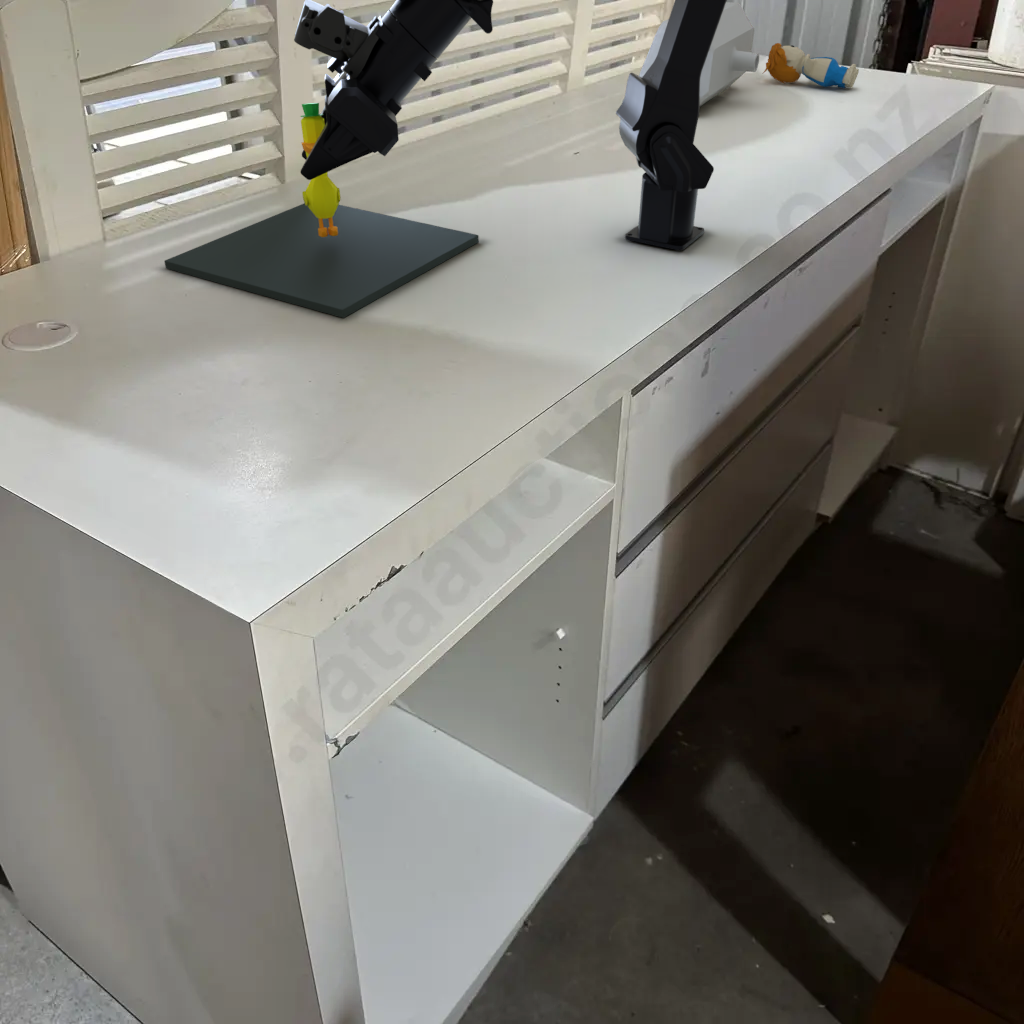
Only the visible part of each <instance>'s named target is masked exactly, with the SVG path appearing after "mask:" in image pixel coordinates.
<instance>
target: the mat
mask: <svg viewBox="0 0 1024 1024" xmlns="http://www.w3.org/2000/svg"><path fill="white" fill-rule="evenodd" d="M332 219H333V226H336V227H337V229H338V235H337V236H331V235H329V233H328V236H327V237H320V236H319V234H318V228H320V227H319V219H318V218H317V217H316V216H315V215H314V214H313V212H312V211H311V210H310V209H309V207H308V204H307V206H306V205H305V203H304V202H303V203H301V204H299V205H297V206H295V207H291V208H289V209H286V210H284V211H282V212H279V213H276V214H274V215H273V216H270V217H266V218H265V219H263V220H260V221H257V222H255V223H252V224H250V225H248V226H246V227H243V228H241V229H238V230H236V231H234V232H231V233H229V234H225V235H224V236H221V237H219V238H216V239H214V240H212V241H209V242H206V243H204V244H202V245H199V246H196V247H194V248H192V249H190V250H187V251H185V252H184V251H183V252H182V253H179V254H177V255H175V256H172V257H170V258H167V259H164V266H165V269H167V270H170V271H175V272H178V273H181V274H184V275H188V276H192V277H195V278H199V279H203V280H207V281H211V282H213V283H216V284H220V285H224V286H227V287H232V288H235V289H238V290H243V291H246V292H249V293H252V294H255V295H260V296H264V297H267V298H270V299H274V300H278V301H281V302H285V303H289V304H292V305H296V306H299V307H303V308H306V309H310V310H313V311H316V312H321V313H324V314H328V315H331V316H335V317H338V318H343V319H344V318H346V317H347V316H350V315H351V314H353V313H355V312H357V311H359V310H361V309H362V308H364V307H366V306H367V305H369V304H372V303H373V302H375V301H376V300H378V299H380V298H382V297H383V296H385V295H387V294H389V293H391V292H393V291H394V290H396V289H398V288H399V287H401V286H403V285H405V284H407V283H408V282H411V281H412V280H414V279H415V278H417V277H419V276H421V275H423V274H424V273H426V272H428V271H429V270H432V269H433V268H435V267H437V266H439V265H440V264H442V263H444V262H447V260H450V259H451V258H453V257H455V256H457V255H458V254H460V253H462V252H464V251H466V250H467V249H469V248H471V247H473V246H475V245H477V244H478V243H479V241H480V240H479V239H480V237H479V234H475V233H471V232H466V231H463V230H462V231H461V230H457V229H452V228H448V227H443V226H440V225H433V224H429V223H425V222H420V221H415V220H412V219H406V218H402V217H397V216H393V215H388V214H384V213H379V212H375V211H370V210H366V209H360V208H356V207H351V206H347V205H342V204H339V205H338V207H337V209H336V211H335V213H334V215H333V217H332ZM323 227H325V228H327V231H328V227H329V219H328V218H327V219H323Z"/></svg>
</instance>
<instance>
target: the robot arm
mask: <svg viewBox="0 0 1024 1024" xmlns="http://www.w3.org/2000/svg"><path fill="white" fill-rule="evenodd" d="M726 2H728V0H674V2H673V5H672V9H671V11H670V14H669V17H668V19H669V20H668V19H667V20H668V24H667V27H666V30H665V33H664V36H663V39H662V42H661V45H660V48H659V51H658V54H657V57H656V59H655V61H654V62H653V64H652V65H651V66H650V68H649V69H648V70H647V72H646V73H645V75H644V76H643V77H640V76H639V74H636V73H634V72H630V73H628V78H627V81H626V86H625V87H626V88H625V93H624V98H623V100H622V102H621V104H620V106H619V107H618V108H617V109H616V111H615V115H616V116H618V118H619V119H620V120H619V126H618V131H619V135H620V138H621V140H622V142H623V144H624V146H625V147H626V148H627V149H628V151H630V152H631V153H632V155H634V157H635V160H636V163H637V167H639V168H641V169H642V170H643V171H644V173H643V174H642V175H641V176H642V177H641V189H640V200H639V212H638V213H639V214H638V225H637V226H635V227H633V228H632V229H631V230H629V231H628V232H626V233H625V234H624V240H626V241H630V242H635V243H641V244H645V245H651V246H654V247H660V248H663V249H664V248H665V249H669V250H675V251H683V250H685V249H686V248H687V247H689V246H690V245H692V243H694V242H695V241H696V240H697V239H699V238H700V237H701V236H703V235H704V234H705V228H704V227H701V226H695V217H696V209H697V201H698V191H699V190H704V189H706V188H707V186H708V184H709V182H710V180H711V177H712V176H713V173H714V171H715V170H714V169H715V167H714V166H713V165H712V164H711V163H710V161H709V160H708V159H707V158H706V157H705V156H704V154H703V153H702V152H701V151H700V150H699V149H698V147H697V146H696V145H695V144H694V142H695V137H696V131H697V126H698V121H699V116H700V107H699V105H700V77H701V72H702V69H703V66H704V64H705V61H706V58H707V55H708V52H709V49H710V46H711V44H712V41H713V38H714V35H715V32H716V29H717V27H718V24H719V21H720V18H721V15H722V12H723V9H724V7H725V4H726ZM493 6H494V0H395V1H394V3H393V4H392V5H391V7H390V8H389V9H388V10H387V12H386V13H384V15H383V16H382V15H381V14H380V15H379V16H377V15H375V16H374V17H373V18H372V19H371V20H370V21H369V23H368V24H367V25H365V24H363V23H360V22H359V21H357V20H356V19H355V20H354V19H353V18H351V17H349V16H347V15H345V12H344V10H342V9H340V10H338V9H336V8H334V7H332V5H331V4H329V3H326V4H325V5H323V4H321V3H320V2H316V1H315V0H304V2H303V6H302V8H301V12H300V16H299V18H298V22H297V26H296V30H295V33H294V39H293V42H295V43H296V45H299V46H301V47H302V48H305V49H307V50H312V49H313V50H315V51H318V52H319V53H322V54H324V55H325V56H329V57H331V58H330V59H329V60H328V62H327V70H329V72H331V73H332V74H334V72H336V73H337V74H336V76H335V77H334V78H333V77H331V75H329V74H328V73H325V74H324V86H325V87H324V88H325V96H324V106H323V108H322V111H321V113H320V114H323V115H321V117H322V118H324V123H325V126H324V128H323V130H322V132H321V134H320V136H319V137H318V139H317V141H316V143H315V145H314V146H313V148H312V150H311V152H310V154H309V156H308V157H307V156H306V152H305V151H304V149H302V152H301V157H302V158H303V159H304V160H305V161H304V163H303V165H302V167H301V168H300V175H301V176H302V177H303V178H305V179H306V180H307V181H311V179H313V178H316V177H318V176H320V175H322V174H324V173H326V172H328V173H329V172H330V171H333V170H335V169H337V168H339V167H342V166H344V165H346V164H349V163H351V162H353V161H355V160H357V159H361V158H363V157H365V156H367V155H370V154H376V153H379V154H380V155H381V156H383V157H386V156H387V155H388V153H389V152H390V151H391V150H392V148H393V147H394V146H395V145H396V144H397V143H398V142H399V139H400V138H399V127H398V121H397V115H398V114H399V113H400V111H401V110H402V109H403V107H402V104H401V103H402V102H403V100H404V99H405V98H406V97H407V96H408V95H409V94H410V93H411V91H412V90H413V89H414V88H415V87H416V85H418V83H419V82H420V80H423V82H426V80H427V79H428V78H430V76H431V75H432V74H433V72H432V70H431V67H432V66H433V65H434V64H435V63H436V62H437V60H438V59H439V58H440V57H441V55H442V54H443V53H444V52H445V51H446V49H447V48H448V47H449V45H451V43H453V41H454V40H455V39H456V38H457V36H458V35H459V34H460V33H461V31H462V30H463V29H464V28H465V27H466V26H467V25H468V23H469V22H470V21H471V19H472V20H473V21H474V22H475V24H476V25H478V27H479V28H480V29H481V30H482V31H483V32H484V33H486V34H488V35H489V34H491V33H492V32H493V22H492V19H493V18H492V10H493Z"/></svg>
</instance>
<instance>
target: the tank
mask: <svg viewBox="0 0 1024 1024" xmlns="http://www.w3.org/2000/svg"><path fill="white" fill-rule="evenodd" d="M668 20H669V18H667V19H665V20H663V21H662V22H661V23H660V25H659V27H658V28H657V30H656V32H655V35H654V37H653V40H652V42H651V44H650V47H649V50H648V53H647V54H646V57H645V59H644V62H643V64H642V67H641V69H640V72H639V74H638V76H640V77H643V76H644V75H645V73H646V72H647V70H648V69H649V68H650V66H651V65H652V64H653V62H654V61H655V59H656V57H657V54H658V51H659V48H660V45H661V42H662V39H663V36H664V33H665V30H666V27H667V24H668ZM754 36H755V27H754V25H753V24H752V22H751V20H750V19H749V17H748V15H747V13H746V12H745V10H744V9H743V6H742V5H741V4H740V3H739V2H732V1H731V2H729V1H726V4H725V7H724V9H723V12H722V15H721V18H720V21H719V24H718V27H717V29H716V32H715V35H714V38H713V41H712V44H711V46H710V49H709V52H708V55H707V58H706V61H705V64H704V66H703V69H702V72H701V77H700V105H699V108H700V107H702V106H703V105H705V104H707V103H708V102H709V101H711V100H712V99H714V98H715V97H717V96H718V95H720V94H721V93H722V92H724V91H726V90H727V89H728V88H730V86H731V85H733V84H734V83H735V82H736V81H737V80H738V79H740V78H741V77H742V76H743V75H745V73H746V72H749V73H756V72H757V70H758V67H759V63H760V53H759V52H752V50H753V45H754V44H753V43H754V38H755V37H754Z"/></svg>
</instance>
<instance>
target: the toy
mask: <svg viewBox="0 0 1024 1024" xmlns="http://www.w3.org/2000/svg"><path fill="white" fill-rule="evenodd" d="M767 71H768V74H769V75H770V76H771V77H772V78H773V79H774V80H777V81H779V82H780V83H783V84H784V85H785V84H789V83H790V84H791V83H795V82H798V80H799V79H800V78H801V76H802V75H803V76H804V77H805V78H806V79H808V80H809V81H811V82H812V83H814V84H817V85H818V86H820V87H823V88H828V87H834V86H835V87H838V88H841V89H846V88H850V89H852V88H853V87H854V85H855V82H856V80H857V77H858V76H859V75H858V74H859V71H860V69H859V68H857V64H855V63H851V65H850V66H849V67H847V66H844V65H841V66H840V64H839V62H838V60H837V59H835V58H833V57H830V56H819V57H818V56H817V57H811V54H810V53H807V54H805V52H804V51H803V50H802V49H801V48H799V46H795V45H782V44H781V43H780V42H777V43H774V44H773V45H771V48H770V50H769V53H768V58H767V62H766V63H765V69H764V71H763V72H762V74H764V73H765V72H767Z"/></svg>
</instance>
